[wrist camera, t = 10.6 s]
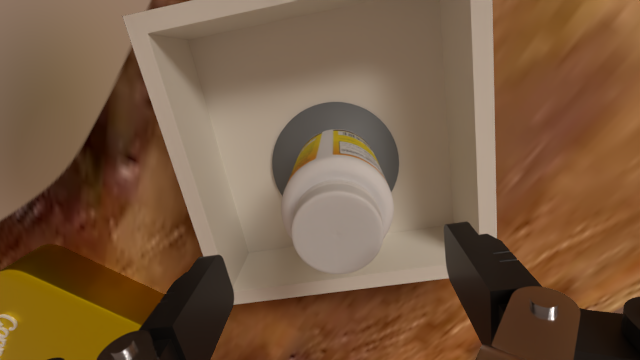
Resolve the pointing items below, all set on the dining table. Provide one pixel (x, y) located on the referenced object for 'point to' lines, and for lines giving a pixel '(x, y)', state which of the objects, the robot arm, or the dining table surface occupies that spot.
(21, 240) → the dining table surface
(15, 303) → the element tile
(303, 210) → the supplement bottle
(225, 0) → the box
